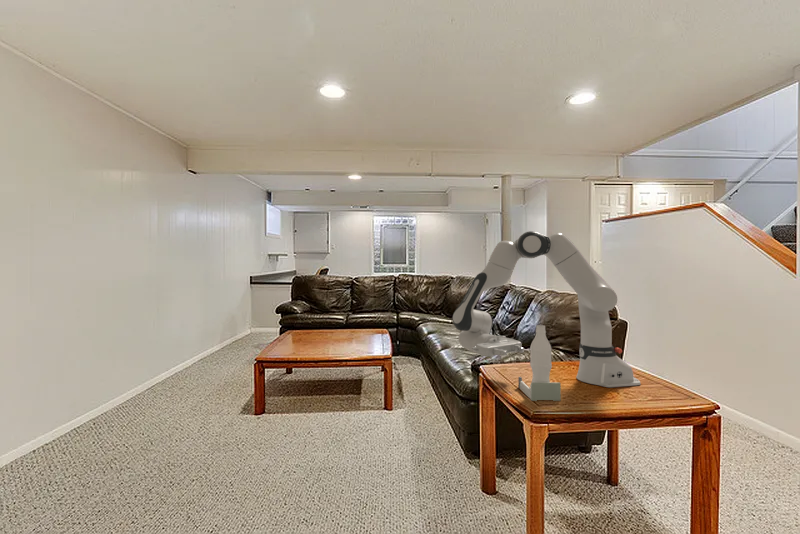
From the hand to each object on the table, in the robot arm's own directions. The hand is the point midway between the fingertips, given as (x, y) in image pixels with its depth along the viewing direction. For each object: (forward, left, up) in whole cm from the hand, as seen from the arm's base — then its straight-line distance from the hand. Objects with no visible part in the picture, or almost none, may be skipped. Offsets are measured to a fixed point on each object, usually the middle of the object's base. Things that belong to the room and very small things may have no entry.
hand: (514, 351), depth 142 cm
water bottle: (-6, +11, -13) cm, 18 cm away
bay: (-6, +8, -13) cm, 17 cm away
